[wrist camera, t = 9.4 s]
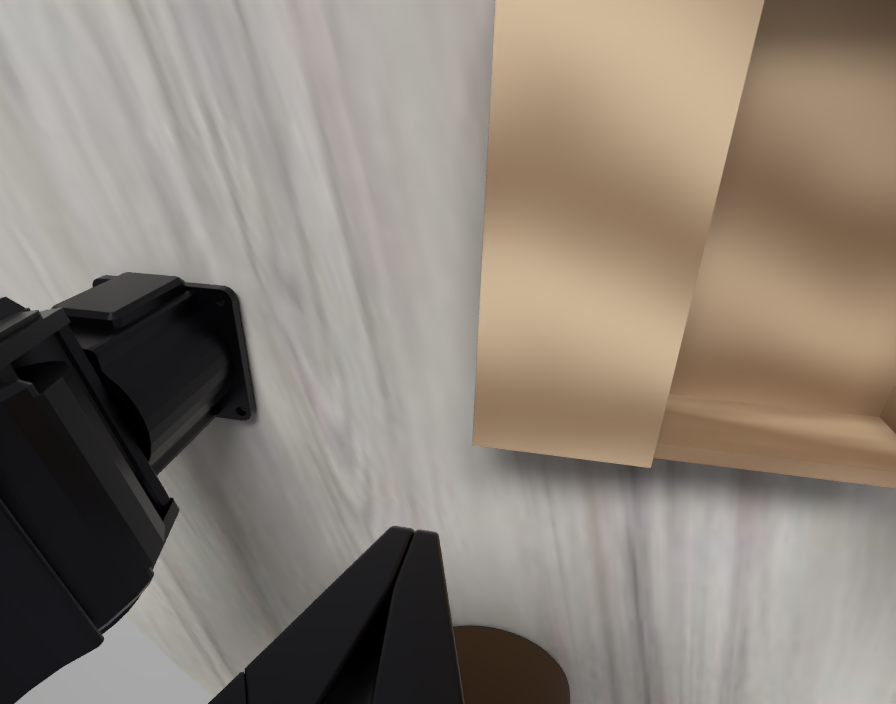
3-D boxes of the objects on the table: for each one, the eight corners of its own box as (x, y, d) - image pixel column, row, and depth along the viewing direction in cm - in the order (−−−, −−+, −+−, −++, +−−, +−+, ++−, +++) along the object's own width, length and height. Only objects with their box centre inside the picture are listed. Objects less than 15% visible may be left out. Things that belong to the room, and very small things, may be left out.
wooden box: (883, 423, 21) (948, 494, 17) (487, 379, 23) (474, 435, 19) (1137, -122, 13) (1343, -192, 10) (519, -107, 16) (506, -160, 12)
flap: (648, 456, 18) (651, 468, 18) (474, 435, 19) (472, 444, 19) (796, -166, 11) (807, -178, 11) (506, -156, 12) (504, -166, 11)
